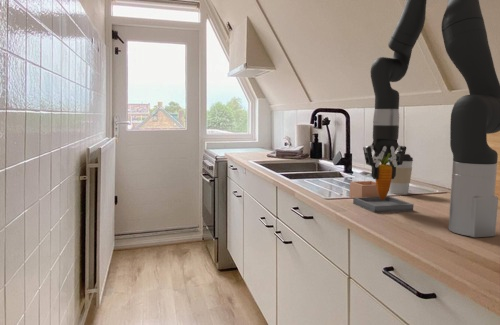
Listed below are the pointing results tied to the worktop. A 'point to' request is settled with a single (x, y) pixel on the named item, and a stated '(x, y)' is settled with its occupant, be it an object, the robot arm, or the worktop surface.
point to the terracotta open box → (363, 189)
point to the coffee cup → (402, 176)
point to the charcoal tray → (382, 204)
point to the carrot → (384, 177)
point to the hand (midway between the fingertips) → (383, 178)
